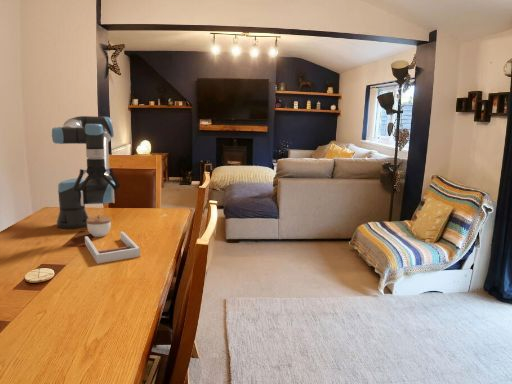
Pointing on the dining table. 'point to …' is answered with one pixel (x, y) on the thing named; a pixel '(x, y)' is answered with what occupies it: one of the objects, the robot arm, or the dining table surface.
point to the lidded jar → (98, 225)
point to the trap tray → (114, 249)
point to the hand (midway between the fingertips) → (98, 203)
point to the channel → (115, 254)
